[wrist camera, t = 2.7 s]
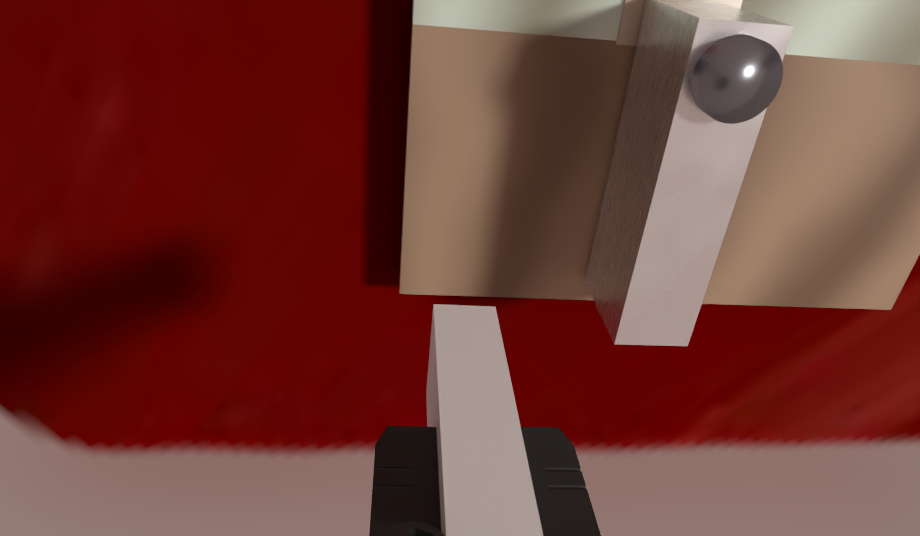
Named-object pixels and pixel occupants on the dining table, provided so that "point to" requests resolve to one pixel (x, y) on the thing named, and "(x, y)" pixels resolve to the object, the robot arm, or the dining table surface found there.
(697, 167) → the bar
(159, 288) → the dining table surface
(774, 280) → the board
